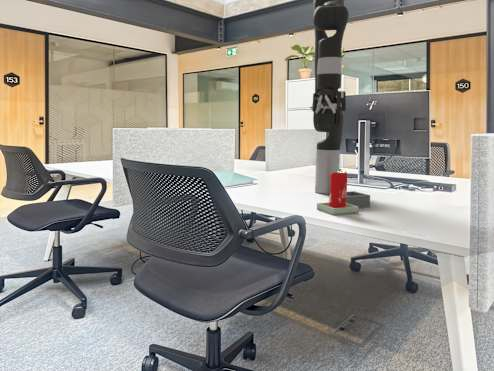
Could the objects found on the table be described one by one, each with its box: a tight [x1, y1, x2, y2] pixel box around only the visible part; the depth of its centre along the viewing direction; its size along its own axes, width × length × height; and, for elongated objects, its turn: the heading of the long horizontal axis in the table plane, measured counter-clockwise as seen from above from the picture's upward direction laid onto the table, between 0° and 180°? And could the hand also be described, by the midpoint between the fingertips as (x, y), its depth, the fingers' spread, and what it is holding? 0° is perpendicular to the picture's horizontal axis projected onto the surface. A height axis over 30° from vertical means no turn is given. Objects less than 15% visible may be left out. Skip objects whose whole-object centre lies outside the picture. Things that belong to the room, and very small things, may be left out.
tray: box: [316, 201, 360, 216], centre depth 130 cm, size 9×9×2 cm
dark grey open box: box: [346, 190, 371, 209], centre depth 139 cm, size 9×9×4 cm
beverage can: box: [328, 170, 348, 208], centre depth 129 cm, size 5×5×12 cm
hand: (327, 125), depth 132 cm, fingers open, 8 cm apart
